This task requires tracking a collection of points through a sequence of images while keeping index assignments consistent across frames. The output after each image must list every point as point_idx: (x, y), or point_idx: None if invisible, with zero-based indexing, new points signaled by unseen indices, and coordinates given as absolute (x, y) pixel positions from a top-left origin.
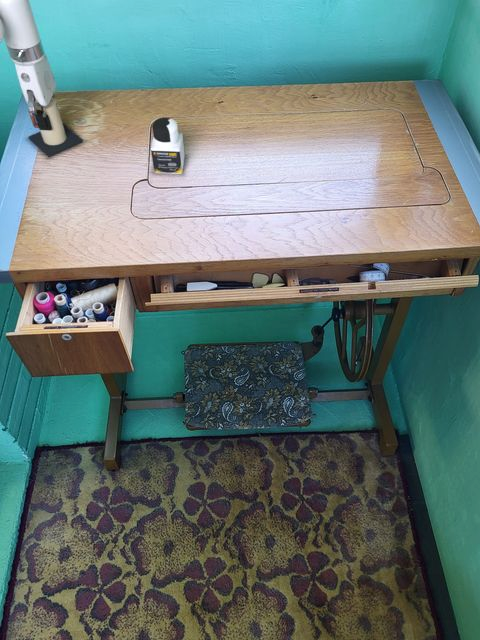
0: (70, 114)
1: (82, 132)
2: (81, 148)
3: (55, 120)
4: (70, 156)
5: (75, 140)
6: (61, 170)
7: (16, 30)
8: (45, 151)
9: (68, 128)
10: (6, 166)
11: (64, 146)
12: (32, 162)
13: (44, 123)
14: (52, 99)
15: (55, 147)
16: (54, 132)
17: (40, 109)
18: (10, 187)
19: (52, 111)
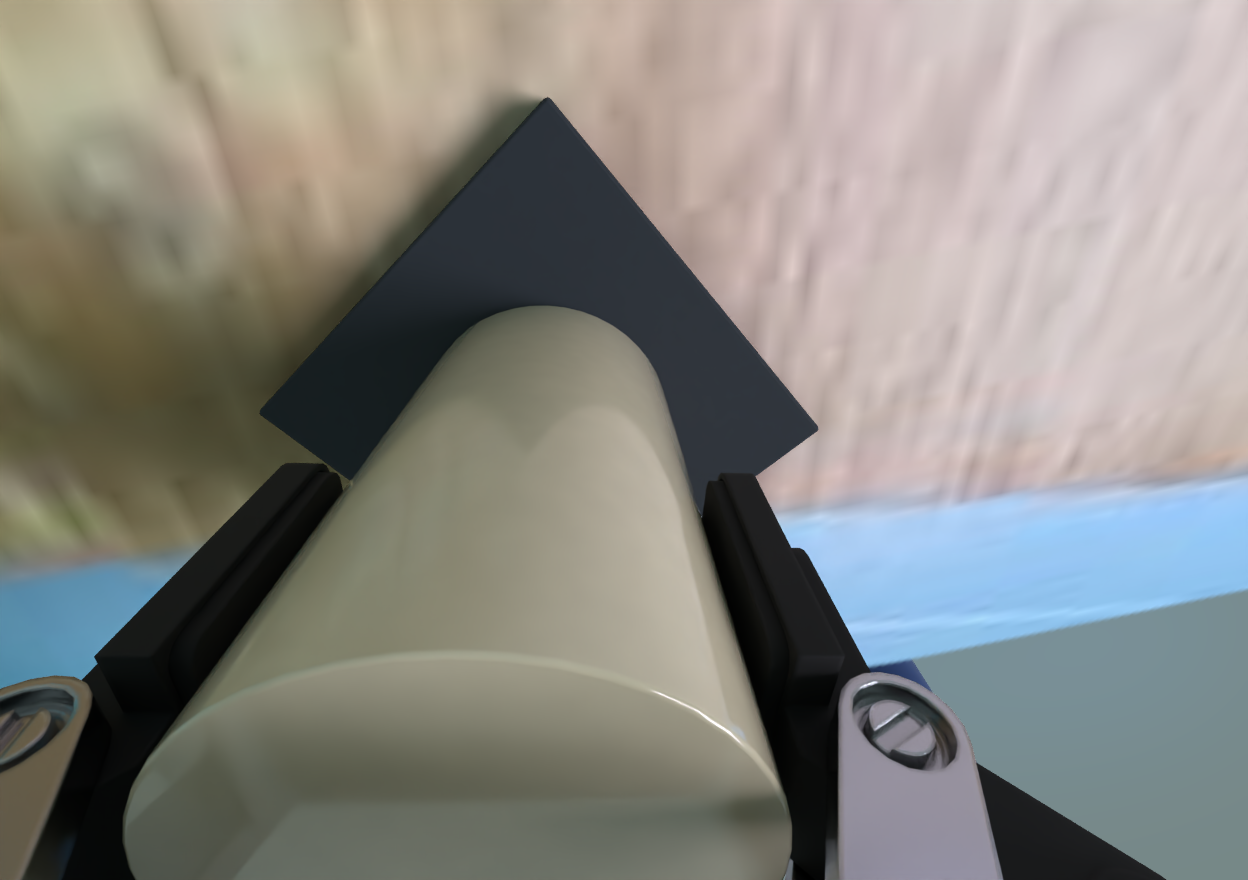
0: (50, 356)
1: (344, 140)
2: (668, 93)
3: (645, 469)
4: (810, 208)
5: (568, 185)
6: (1027, 261)
7: None
8: (763, 462)
9: (347, 318)
10: (870, 662)
11: (686, 298)
12: (853, 526)
13: (826, 614)
14: (264, 758)
15: (702, 387)
16: (674, 433)
17: (783, 865)
18: (1112, 593)
19: (673, 602)
